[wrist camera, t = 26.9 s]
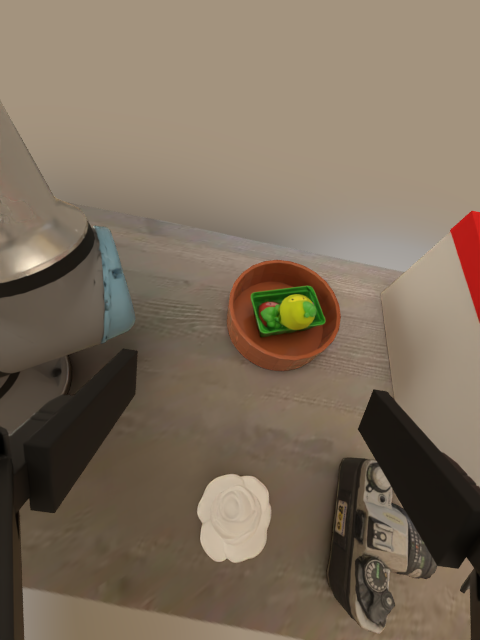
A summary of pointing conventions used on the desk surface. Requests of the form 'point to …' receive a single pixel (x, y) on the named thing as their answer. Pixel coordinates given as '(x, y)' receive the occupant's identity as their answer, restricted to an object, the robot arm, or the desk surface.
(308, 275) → the pot
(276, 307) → the fruit basket
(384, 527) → the camera
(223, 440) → the desk surface
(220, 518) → the rose
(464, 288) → the bookstore
